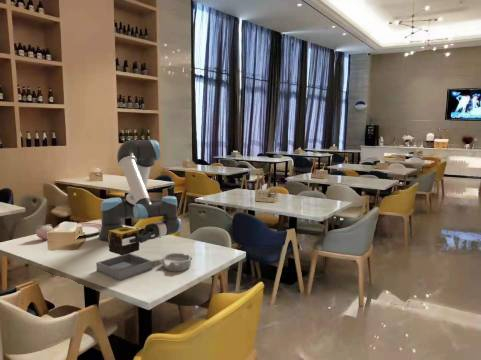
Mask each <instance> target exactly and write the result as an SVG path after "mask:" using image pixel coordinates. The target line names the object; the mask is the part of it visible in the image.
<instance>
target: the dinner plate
mask: <svg viewBox="0 0 481 360" xmlns="http://www.w3.org/2000/svg"><path fill="white" fill-rule="evenodd" d="M76 223H77V224H81V225H82V227H83V231H84V232H85V235H86V236H85V237H88V236H93V235H96V234H99V233H100V230H101V226H102V223H97V222H76Z"/></svg>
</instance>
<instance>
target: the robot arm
mask: <svg viewBox="0 0 481 360" xmlns="http://www.w3.org/2000/svg"><path fill="white" fill-rule="evenodd" d="M116 153H117V156H116V157H117V158H116V160H117V163H118V167H120V168H121V169H122V170H123V174H124V176H125V179H126V182H127V184H128V187H129V193H128V194H126V195H125V199H122V198H121V197H110V198H106V199H104V200H102V201H101V203H100V216H101V219H100V220H101V224H102V226H101V230H100V232H98V238H99V240H100V241H104V242H109V230H114V229H118V228H122V227H124V225H123V220H125V219H133V218H135V219H136V220H146V219H151V218H160V217H162V221H161V220H160V221H157V222H153V223H149V224H146V225H145V227H144V228H140V229H139V227H135V229H138V230H139V235H137V236H136V238H135V237H130V238H126V239H122V246H124V245H128V244H132V243H136V242H137V243H138V242H139V244H142V243H146V242H147V241H150V240H155V239H158V238H159V239H161V238H162V237H165V236H170V235H175V234H177V233H179V232H181V231H182V229H183V222H182V220H181V218H178V200H177V199H178V198H177V197H176V196H174V195H173V196H172V195H168V196H166V195H165V196H163V197H162V198H161V201H153V202H152V199H151V197H150V195H149V193H148V189H147V186H148V185H147V184H148V181H149V177H150V172H151V168H152V167H153V166H155V162H156V161H160V159H161V155H162V152H161V147H160V144H159V142H158V141H157V140H155V139H130V140H126V141H124V142H123V143H122V144H121V145H120V146H119V148H118V150H117V152H116Z"/></svg>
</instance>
